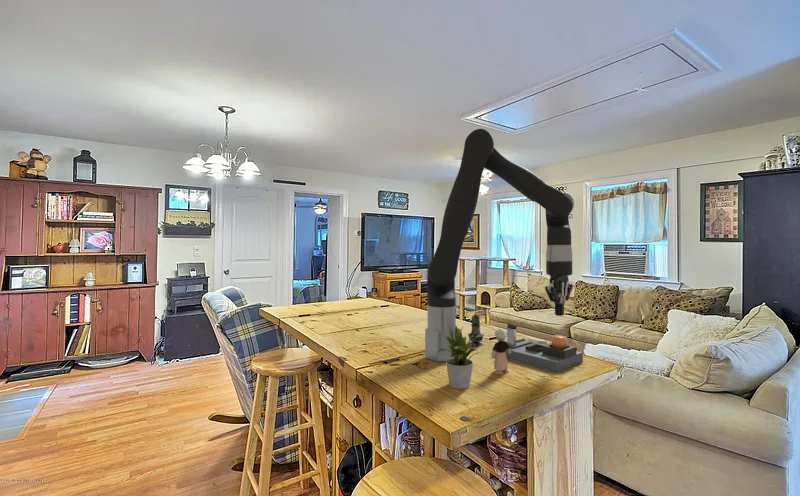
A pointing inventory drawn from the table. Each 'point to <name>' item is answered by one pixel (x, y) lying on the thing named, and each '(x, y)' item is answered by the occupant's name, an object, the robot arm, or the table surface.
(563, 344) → the push button
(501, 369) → the grandmother figurine
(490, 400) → the table surface
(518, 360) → the control panel
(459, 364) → the house plant
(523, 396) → the table surface
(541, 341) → the rocker switch
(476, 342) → the dark grey ornate statuette
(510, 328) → the slide lever
